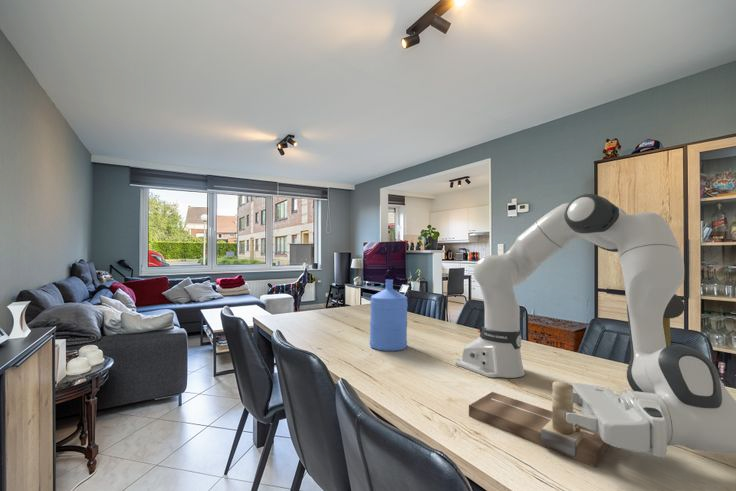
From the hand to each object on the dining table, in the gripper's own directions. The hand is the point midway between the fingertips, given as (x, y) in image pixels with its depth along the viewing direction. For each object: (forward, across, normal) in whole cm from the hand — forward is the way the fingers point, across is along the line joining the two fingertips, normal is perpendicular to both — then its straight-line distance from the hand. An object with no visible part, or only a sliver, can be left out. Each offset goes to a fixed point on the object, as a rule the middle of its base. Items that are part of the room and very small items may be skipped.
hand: (559, 405), depth 68 cm
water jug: (+50, -60, +9) cm, 79 cm away
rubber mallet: (-35, -37, +9) cm, 51 cm away
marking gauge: (0, 0, +8) cm, 8 cm away
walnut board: (+3, -7, +8) cm, 11 cm away
